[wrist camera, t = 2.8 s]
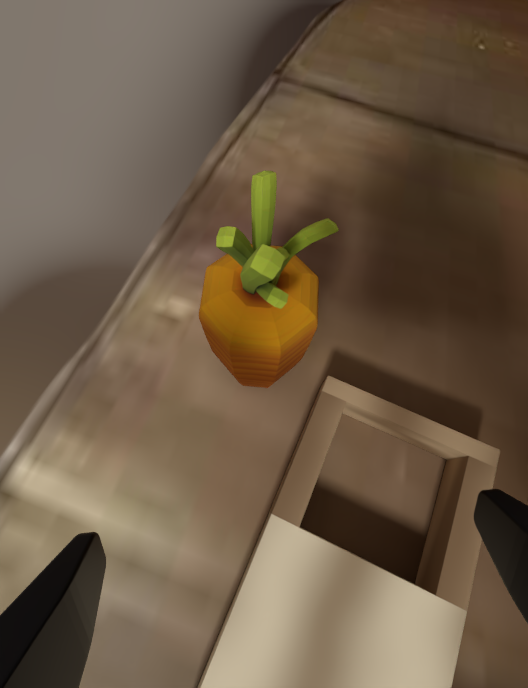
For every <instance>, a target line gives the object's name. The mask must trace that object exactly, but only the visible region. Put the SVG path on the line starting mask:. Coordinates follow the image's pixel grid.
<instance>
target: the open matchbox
mask: <svg viewBox="0 0 528 688" xmlns="http://www.w3.org/2000/svg"><path fill="white" fill-rule="evenodd" d="M342 413H343V414H345V415H348V416H350V417H352V418H354V419H357V420H359V421H361V422H363V423H366V424H368V425H370V426H372V427H375V428H377V429H379V430H381V431H383V432H386V433H388V434H390V435H392V436H395V437H397V438H399V439H401V440H404V441H406V442H408V443H410V444H413V445H415V446H417V447H419V448H422V449H424V450H426V451H428V452H430V453H433V454H435V455H437V456H439V457H442V458H444V459H446V460H447V461H446V464H445V468H444V472H443V476H442V480H441V484H440V488H439V492H438V495H437V499H436V503H435V507H434V511H433V515H432V519H431V523H430V527H429V530H428V534H427V538H426V542H425V546H424V550H423V554H422V558H421V561H420V565H419V569H418V573H417V577H416V581H415V584H413V583H411V582H409V581H407V580H405V579H403V578H401V577H399V576H397V575H395V574H393V573H391V572H389V571H387V570H385V569H383V568H381V567H379V566H377V565H375V564H373V563H371V562H369V561H367V560H365V559H363V558H361V557H359V556H357V555H355V554H353V553H351V552H349V551H347V550H345V549H343V548H341V547H339V546H337V545H335V544H333V543H331V542H329V541H327V540H325V539H323V538H321V537H319V536H317V535H315V534H313V533H311V532H309V531H307V530H305V529H303V528H301V527H299V526H300V524H301V521H302V519H303V516H304V513H305V511H306V508H307V505H308V503H309V500H310V497H311V495H312V492H313V489H314V487H315V484H316V481H317V479H318V476H319V474H320V471H321V468H322V466H323V463H324V460H325V458H326V455H327V452H328V450H329V447H330V444H331V442H332V439H333V437H334V434H335V431H336V429H337V426H338V423H339V421H340V418H341V415H342ZM499 454H500V450H499V449H496V448H494V447H492V446H489V445H487V444H485V443H482V442H480V441H478V440H476V439H473V438H471V437H469V436H466V435H464V434H462V433H459V432H457V431H455V430H453V429H450V428H448V427H446V426H443V425H441V424H439V423H436V422H434V421H432V420H430V419H427V418H425V417H423V416H420V415H418V414H416V413H413V412H411V411H409V410H407V409H404V408H402V407H400V406H397V405H395V404H393V403H391V402H388V401H386V400H384V399H381V398H379V397H377V396H374V395H372V394H370V393H368V392H365V391H363V390H361V389H358V388H356V387H354V386H351V385H349V384H347V383H345V382H342V381H340V380H338V379H335V378H333V377H331V376H327V378H326V380H325V381H324V383H323V384H322V386H321V388H320V390H319V393H318V395H317V398H316V400H315V402H314V405H313V407H312V410H311V412H310V415H309V417H308V419H307V422H306V424H305V427H304V429H303V432H302V434H301V436H300V439H299V441H298V444H297V446H296V449H295V451H294V453H293V456H292V458H291V461H290V463H289V466H288V468H287V470H286V473H285V475H284V478H283V480H282V483H281V485H280V487H279V490H278V492H277V495H276V497H275V500H274V502H273V505H272V507H271V509H270V512H269V514H268V517H267V519H266V522H265V524H264V526H263V529H262V531H261V534H260V536H259V539H258V541H257V543H256V546H255V548H254V551H253V553H252V556H251V558H250V560H249V563H248V565H247V568H246V570H245V573H244V575H243V577H242V580H241V582H240V585H239V587H238V590H237V592H236V594H235V597H234V599H233V602H232V604H231V607H230V609H229V611H228V614H227V616H226V619H225V621H224V624H223V626H222V628H221V631H220V633H219V636H218V638H217V641H216V643H215V645H214V648H213V650H212V653H211V655H210V658H209V660H208V663H207V665H206V667H205V670H204V672H203V675H202V677H201V680H200V682H199V684H198V687H197V688H451V686H452V681H453V677H454V672H455V667H456V662H457V657H458V652H459V648H460V643H461V638H462V633H463V628H464V623H465V619H466V614H467V609H468V604H469V599H470V594H471V590H472V585H473V580H474V575H475V570H476V565H477V561H478V556H479V551H480V546H481V541H482V538H481V536H480V534H479V532H478V530H477V528H476V525H475V522H474V510H475V506H476V502H477V497H478V494H479V492H480V491H482V490H488V489H492V488H493V483H494V478H495V474H496V469H497V464H498V459H499Z"/></svg>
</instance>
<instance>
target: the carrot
mask: <svg viewBox="0 0 528 688" xmlns="http://www.w3.org/2000/svg"><path fill="white" fill-rule="evenodd" d="M276 186H277V185H276V173H275V172H273V171H262V172H259V173H257V174H255V175H253V177H252V187H251V205H252V244H250V242H249V241H248V239H247V238H246V237H245V236H244V234H243V233H242V232H241V231H240V230H238V229H237V228H236V227H229V226H227V227H222V228H220V230H219V232H218V235H217V242H216V247H218V248H219V249H220V250H222V251H224V252H226V253H227V254H226V255H225V256H223V257H222V258H220V259H219V260H217V261H216V262H214V263H213V264H211V265H210V266H208V267H207V269H206V273H205V279H204V285H203V292H202V298H201V304H200V310H199V319H200V322H201V324H202V327H203V330H204V332H205V335H206V338H207V340H208V342H209V344H210V346H211V349H212V351H213V352H214V353H215V355H216V356H217V357H218V358H219V359H220V361H221V362H222V363H223V364H224V365H225V366H226V368H227V369H228V370H229V371H230V372H231V373H232V375H233V376H234V377H235V378H236V379H237V381H238V382H239V383H240V384H242V385H243V386H254V387H265V388H268V387H269V386H271V385H272V384H273V383H274V382H276V381H277V380H278V379H279V378H281V377H282V376H283V375H284V374H285V373H287V372H288V371H289V370H290V369H291V368H293V367H294V366H295V365H296V364H297V363H298V362H299V361H300V360H301V359H302V357H303V356H304V354H305V352H306V350H307V348H308V346H309V344H310V342H311V340H312V338H313V336H314V333H315V331H316V329H317V324H318V289H319V280H318V276H317V275H316V274H315V273H313V272H312V271H311V270H310V269H309V268H308V267H307V266H306V265H305V264H304V263H303V262H302V261H301V260H300V259H299V258H298V257H297V256H296V255H295V254H297V253H298V252H299V251H301V250H302V249H303V248H305V247H307V246H308V245H310V244H311V243H313V242H315V241H317V240H320V239H322V238H324V237H327V236H329V235H331V234H333V233H335V232H337V231H338V230H339V229H338V227H337V225H336V223H334V222H333V221H331V220H330V219H328V218H327V219H324V220H321V221H318V222H316V223H314V224H312V225H310V226H308V227H306V228H304V229H302V230H300V231H299V232H298V233H297V234H296V235H294V236H293V237H292V238H291V239H290V240H289V241H288V242H287V243H286V244H285V245H284V246H283V247H282V246H270V245H271V237H272V228H273V220H274V211H275V201H276Z"/></svg>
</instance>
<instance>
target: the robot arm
mask: <svg viewBox="0 0 528 688" xmlns="http://www.w3.org/2000/svg"><path fill="white" fill-rule="evenodd" d="M474 522H475V525H476V528H477V530H478V532H479V534H480V536H481V538H482V540H483V542H484V544H485V546H486V548H487V550H488V552H489V554H490V556H491V558H492V560H493V562H494V564H495V566H496V568H497V570H498V572H499V574H500V576H501V578H502V580H503V582H504V584H505V586H506V588H507V590H508V592H509V593H510V595H511V597H512V599H513V600H514V602H515V604H516V605H517V607H518V609H519V610H520V612H521V614H522V615H523V617H524V618H525V620H526V622H527V623H528V506H527V505H525V504H523V503H522V502H520V501H518V500H517V499H515V498H513V497H511V496H510V495H508V494H506V493H505V492H503V491H501V490H499V489H488V490H482V491H480V492H479V494H478V497H477V502H476V506H475V510H474ZM105 568H106V556H105V553H104V550H103V546H102V543H101V540H100V537H99V535H98V533H96V532H90V533H81V534H78V535H77V536H75V537H74V538H73V539H72V540H71V542H70V543H69V544H68V545H67V546H66V547H65V548H64V549H63V550H62V551H61V552H60V553H59V554H58V555H57V556H56V557H55V558H54V559H53V560H52V561H51V563H50V564H49V565H48V566H47V567H46V568H45V569H44V570H43V571H42V572H41V573H40V574H39V575H38V576H37V577H36V578H35V579H34V580H33V581H32V582H31V584H30V585H29V586H28V587H27V588H26V589H25V590H24V591H23V592H22V593H21V594H20V595H19V596H18V597H17V598H16V599H15V600H14V601H13V602H12V604H11V605H10V606H9V607H8V608H7V609H6V610H5V611H4V612H3V613H2V614H1V615H0V688H79V685H80V682H81V678H82V675H83V671H84V668H85V664H86V661H87V657H88V653H89V650H90V646H91V641H92V637H93V632H94V627H95V621H96V616H97V611H98V605H99V600H100V595H101V589H102V584H103V579H104V573H105Z"/></svg>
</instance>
